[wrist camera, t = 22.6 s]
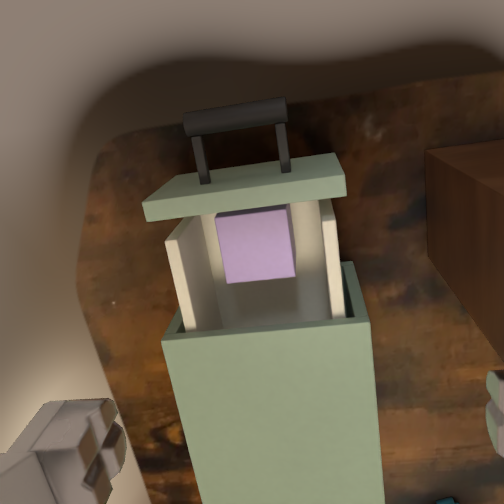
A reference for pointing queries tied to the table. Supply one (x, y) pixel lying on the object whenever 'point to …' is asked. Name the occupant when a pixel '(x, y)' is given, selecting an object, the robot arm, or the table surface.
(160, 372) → the table surface
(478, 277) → the stand
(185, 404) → the sage green nightstand
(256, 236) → the lavender cube
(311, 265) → the drawer
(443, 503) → the handheld gaming console
